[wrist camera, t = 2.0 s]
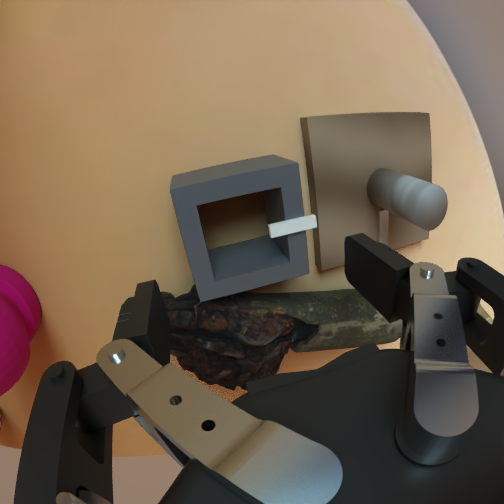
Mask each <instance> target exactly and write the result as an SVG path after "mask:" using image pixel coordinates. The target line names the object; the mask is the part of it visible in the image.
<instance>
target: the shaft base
mask: <svg viewBox="0 0 504 504" xmlns="http://www.w3.org/2000/svg"><path fill="white" fill-rule="evenodd" d="M300 119H301V126H302V134H303V141H304V149H305V157H306V165H307V174H308V182H309V192H310V202H311V212H312V214H314V215H315V216H316V222H317V227H316V228H313V234H314V247H315V261H316V265H317V267H318V268H319V269H320V270H321V271H324V270H327V269H331V268H334V267H338V266H341V265H344V264H345V253H344V241H345V238H346V237H347V236H350V235H354V234H359V233H364V234H365V235H367V236H368V237H370V238H371V239H373V240H374V241H377V242H380V243H383V244H386V245H387V246H389V247H390V248H392V250H394V249H397V248H400V247H404V246H407V245H410V244H413V243H416V242H419V241H422V240H425V239H429V231H430V230H433V229H435V228H437V227H438V226H439V225H440V223H441V222H442V221H443V219H444V217H445V214H446V211H447V204H448V201H447V195H446V192H445V191H444V189H443V188H442V187H440V186H438V185H435V184H433V183H432V157H431V132H430V117H429V113H421V112H379V113H354V114H338V115H325V116H314V117H304V118H300Z"/></svg>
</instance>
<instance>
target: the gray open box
mask: <svg viewBox="0 0 504 504" xmlns="http://www.w3.org/2000/svg"><path fill="white" fill-rule="evenodd" d="M259 191H263V197H264V203H265V210H266V216H267V223H268V230H269V235H268V236H264V237H260V238H256V239H251V240H247V241H243V242H239V243H235V244H231V245H227V246H223V247H218V248H214V249H210V250H207V246H206V242H205V237H204V233H203V229H202V225H201V221H200V216H199V212H198V208H197V205H201V204H205V203H210V202H214V201H218V200H223V199H227V198H231V197H236V196H240V195H245V194H250V193H254V192H259ZM170 193H171V197H172V201H173V205H174V209H175V213H176V217H177V220H178V224H179V228H180V232H181V236H182V239H183V243H184V247H185V250H186V254H187V258H188V261H189V265H190V268H191V272H192V275H193V279H194V282H195V285H196V289H197V292H198V295H199V299H200V302H203V301H207V300H211V299H215V298H219V297H223V296H227V295H231V294H235V293H239V292H243V291H247V290H250V289H254V288H258V287H262V286H266V285H269V284H273V283H277V282H281V281H284V280H288V279H292V278H295V277H299V276H302V275H306V274H309V261H308V250H307V238H306V230H307V229H312V228H316V227H317V222H316V216H315V215H314V214H312V215H308V216H304V208H303V199H302V190H301V181H300V173H299V165H298V163H297V162H294V161H291V160H288V159H285V158H282V157H279V156H276V155H268V156H263V157H257V158H252V159H246V160H241V161H236V162H231V163H226V164H222V165H217V166H212V167H208V168H203V169H199V170H195V171H190V172H186V173H182V174H178V175H174V176H172V181H171V186H170Z"/></svg>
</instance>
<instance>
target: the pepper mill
mask: <svg viewBox="0 0 504 504" xmlns="http://www.w3.org/2000/svg"><path fill="white" fill-rule="evenodd" d="M40 321H41V309H40V304H39V301H38V299H37V296H36V294H35V292H34V291H33V289H32V287H31V286H30V284H29V283H28V282H27V281H26V280H25V279H24V278H23V276H21V275H20V274H19V273H17V272H16V271H15V270H13V269H11V268H9V267H7V266H3V265H0V396H1V395H3V394H4V393H5V392H7V391H8V390H9V389H11V388H12V387H13V386H14V384H15V383H16V382H17V381H18V380H19V379H20V377H21V376H22V374H23V372H24V370H25V369H26V367H27V365H28V362H29V357H30V345H29V343H30V341H31V340H32V338H33V336H34V335H35V333H36V331H37V329H38V327H39V325H40Z"/></svg>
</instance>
